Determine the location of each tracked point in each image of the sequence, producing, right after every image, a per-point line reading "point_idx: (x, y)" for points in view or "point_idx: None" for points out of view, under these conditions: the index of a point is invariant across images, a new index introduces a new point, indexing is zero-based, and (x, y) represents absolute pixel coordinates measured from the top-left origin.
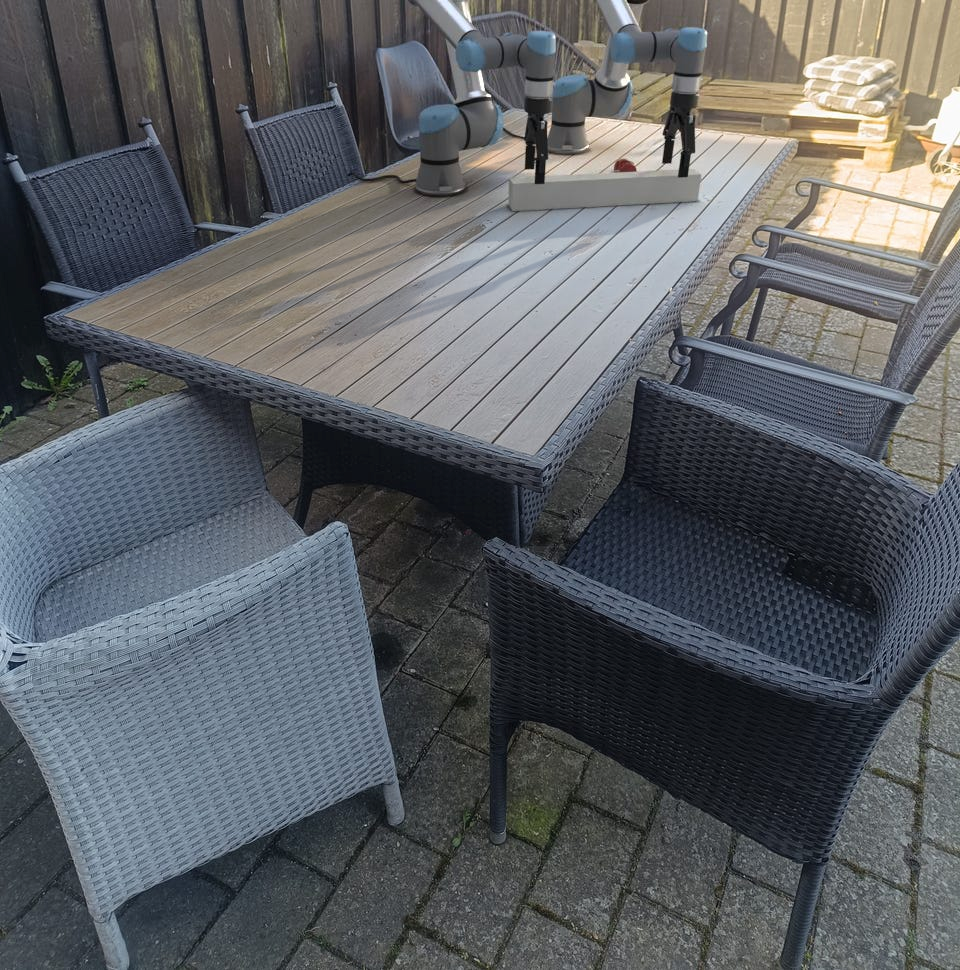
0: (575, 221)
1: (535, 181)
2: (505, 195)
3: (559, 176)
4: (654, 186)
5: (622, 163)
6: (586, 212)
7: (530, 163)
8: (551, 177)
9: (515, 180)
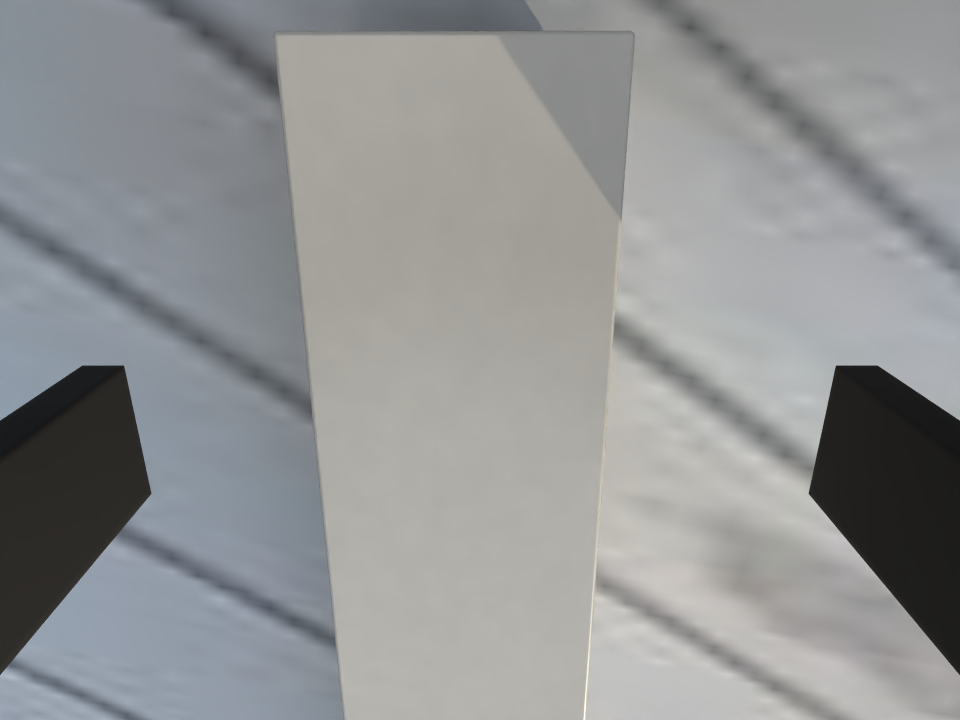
0: None
1: (59, 387)
2: (892, 96)
3: (538, 704)
4: None
5: None
6: (273, 657)
7: (868, 488)
8: (516, 622)
9: (455, 117)
